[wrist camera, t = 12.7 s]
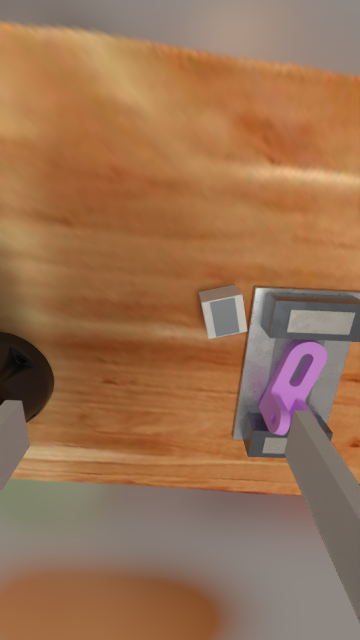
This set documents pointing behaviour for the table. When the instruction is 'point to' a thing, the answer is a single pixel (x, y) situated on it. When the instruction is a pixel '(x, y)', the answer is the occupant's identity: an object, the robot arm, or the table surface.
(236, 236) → the table surface
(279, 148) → the table surface
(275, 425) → the bracket
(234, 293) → the block
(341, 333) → the rail board
